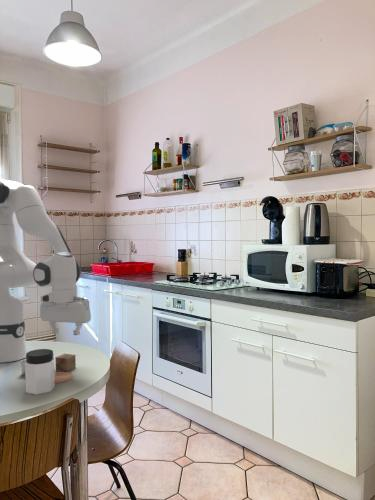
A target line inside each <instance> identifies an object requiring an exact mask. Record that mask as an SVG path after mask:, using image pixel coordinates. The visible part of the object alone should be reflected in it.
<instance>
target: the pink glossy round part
mask: <svg viewBox="0 0 375 500" xmlns="http://www.w3.org/2000/svg"><path fill="white" fill-rule="evenodd" d="M54 373H55V384H61V383H65V382H68V381H70V380H72V378H73V374H72V373H71V372H62V371H56V372H54Z"/></svg>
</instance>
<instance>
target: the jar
mask: <svg viewBox="0 0 375 500" xmlns="http://www.w3.org/2000/svg"><path fill="white" fill-rule="evenodd" d="M25 360H26V363H25V376H24V377H25V378H24V379H25V393H27V394H31V395H34V396H35V395H42V394H46V393H51V392H52V391H53V389H54V388H55V386H56V385H55V384H56V383H55V373H56V372H55V358H54V350H52V349H50V348H49V349H47V348H40V349H37V348H36V349H33V350H30V351H29V350H28V352H27V353H26V358H25Z"/></svg>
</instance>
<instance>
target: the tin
mask: <svg viewBox="0 0 375 500" xmlns="http://www.w3.org/2000/svg"><path fill="white" fill-rule="evenodd" d="M25 363H26V359H25V360H22V361H21V362H20V365H21V376H22V377H25Z"/></svg>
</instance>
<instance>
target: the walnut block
mask: <svg viewBox="0 0 375 500" xmlns="http://www.w3.org/2000/svg"><path fill="white" fill-rule="evenodd" d="M54 360H55V371H56V372H68V373H70V371H73V370H75V369H76V368H77V367H76V365H77V364H76V354H71V353H70V354H69V353H62V354H60V355H57V356H55V358H54Z"/></svg>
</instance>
